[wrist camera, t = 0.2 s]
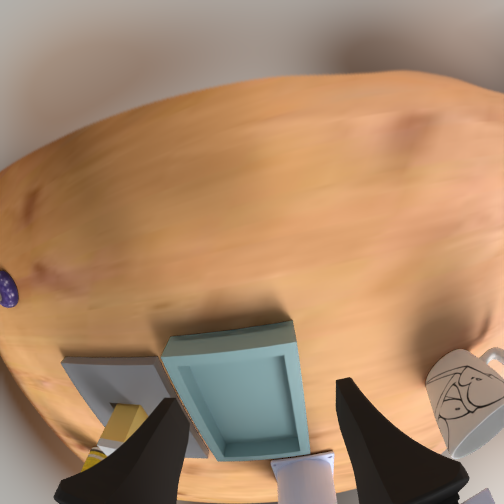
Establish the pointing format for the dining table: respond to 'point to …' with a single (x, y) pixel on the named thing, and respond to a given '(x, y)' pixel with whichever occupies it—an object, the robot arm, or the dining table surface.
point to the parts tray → (242, 390)
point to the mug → (467, 399)
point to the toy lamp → (7, 290)
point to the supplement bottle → (93, 458)
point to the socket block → (126, 388)
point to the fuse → (121, 426)
